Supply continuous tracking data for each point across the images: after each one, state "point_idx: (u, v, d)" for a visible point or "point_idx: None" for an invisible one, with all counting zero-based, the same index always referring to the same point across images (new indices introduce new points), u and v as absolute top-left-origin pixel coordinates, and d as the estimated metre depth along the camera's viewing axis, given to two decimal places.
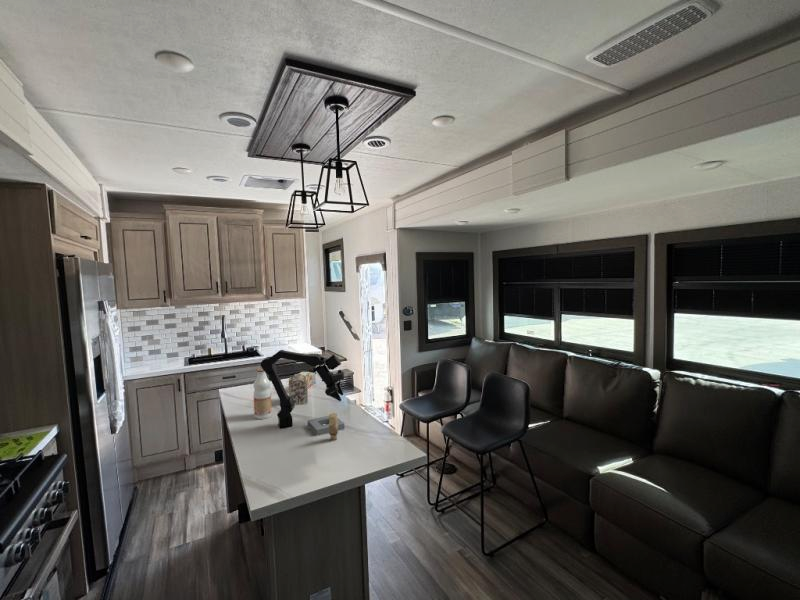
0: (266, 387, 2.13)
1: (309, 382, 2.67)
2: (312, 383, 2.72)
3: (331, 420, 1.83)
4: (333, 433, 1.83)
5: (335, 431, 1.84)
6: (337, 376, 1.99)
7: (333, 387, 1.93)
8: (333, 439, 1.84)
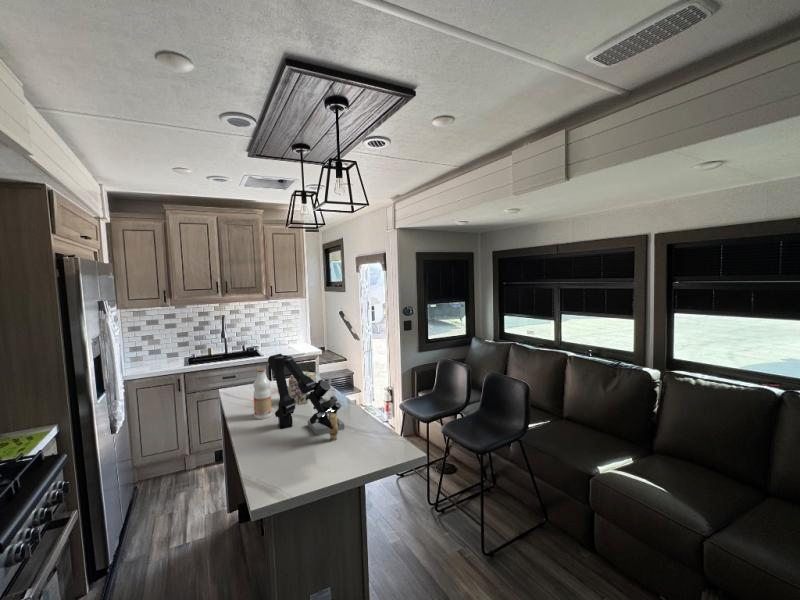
0: (266, 387, 2.13)
1: None
2: None
3: (331, 420, 1.83)
4: (333, 433, 1.83)
5: (335, 431, 1.84)
6: (324, 403, 1.84)
7: (314, 416, 1.78)
8: (333, 439, 1.84)
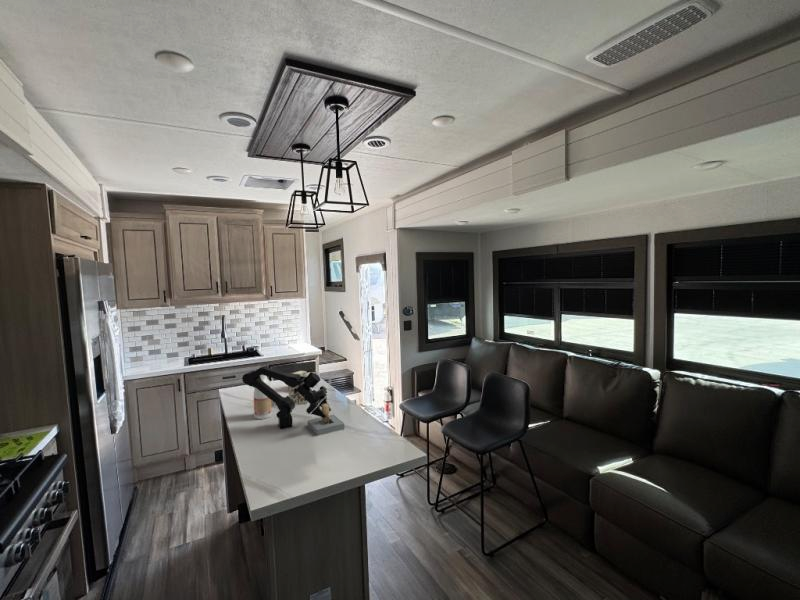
0: None
1: None
2: None
3: (325, 409, 1.98)
4: (327, 421, 1.98)
5: (328, 419, 1.99)
6: (318, 393, 1.97)
7: (313, 405, 1.90)
8: None
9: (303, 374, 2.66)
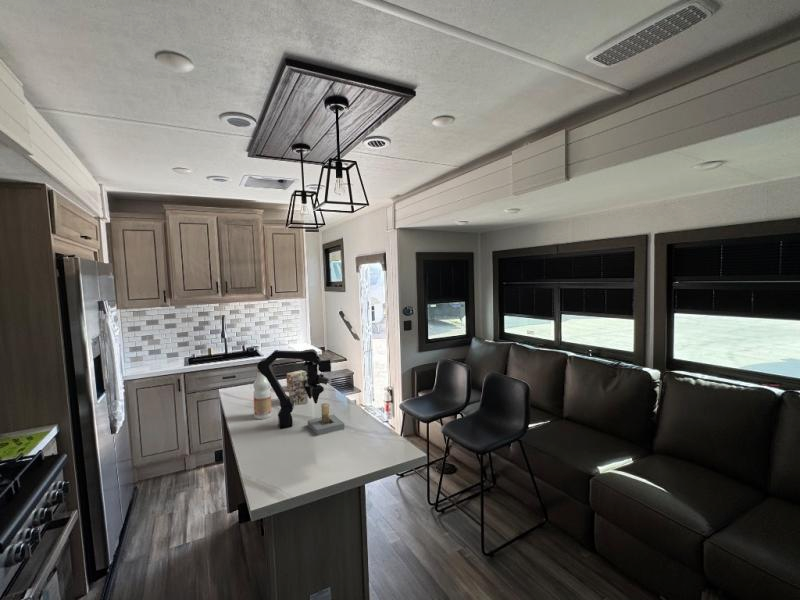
0: (266, 387, 2.13)
1: None
2: None
3: (325, 409, 1.98)
4: (327, 421, 1.98)
5: (328, 419, 1.99)
6: (323, 379, 2.04)
7: (322, 388, 1.97)
8: None
9: (302, 374, 2.67)
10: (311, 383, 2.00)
